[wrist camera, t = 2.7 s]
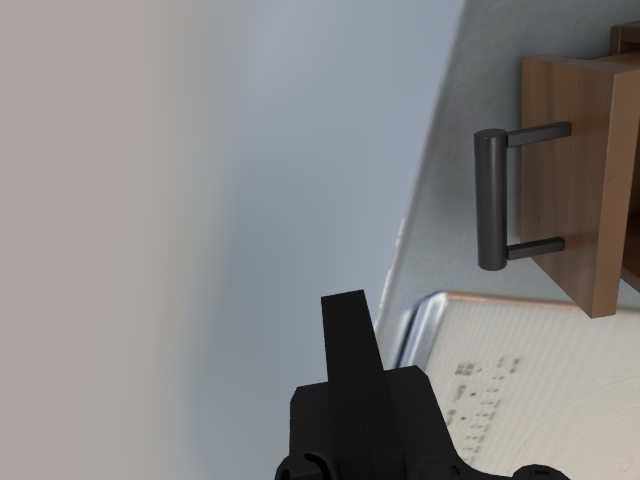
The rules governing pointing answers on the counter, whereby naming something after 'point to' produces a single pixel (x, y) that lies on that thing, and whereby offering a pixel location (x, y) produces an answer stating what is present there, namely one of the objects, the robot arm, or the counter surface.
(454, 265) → the counter surface
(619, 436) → the counter surface
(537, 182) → the drawer
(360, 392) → the robot arm
